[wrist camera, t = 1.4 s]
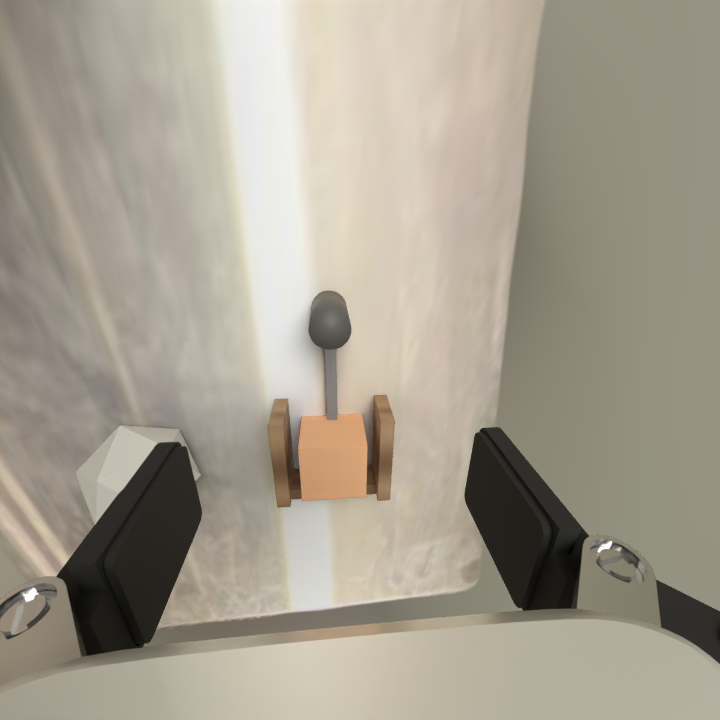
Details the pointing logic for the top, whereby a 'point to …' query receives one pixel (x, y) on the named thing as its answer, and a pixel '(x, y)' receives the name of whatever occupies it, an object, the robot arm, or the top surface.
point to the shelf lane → (290, 477)
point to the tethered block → (331, 418)
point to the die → (121, 463)
